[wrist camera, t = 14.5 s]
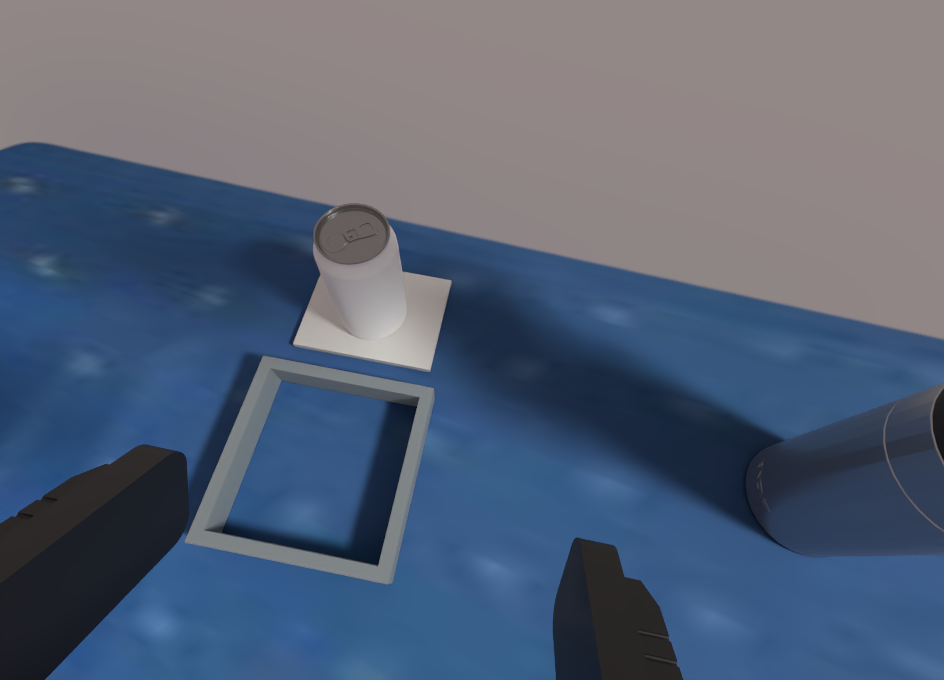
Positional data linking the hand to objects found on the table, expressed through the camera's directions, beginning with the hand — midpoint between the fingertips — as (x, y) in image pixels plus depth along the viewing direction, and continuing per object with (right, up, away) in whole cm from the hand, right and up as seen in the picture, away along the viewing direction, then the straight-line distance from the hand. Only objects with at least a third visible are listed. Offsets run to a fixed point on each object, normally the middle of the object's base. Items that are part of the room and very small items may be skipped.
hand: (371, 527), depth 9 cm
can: (-7, +6, +36) cm, 37 cm away
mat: (-7, +6, +36) cm, 37 cm away
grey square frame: (-10, -7, +30) cm, 32 cm away
